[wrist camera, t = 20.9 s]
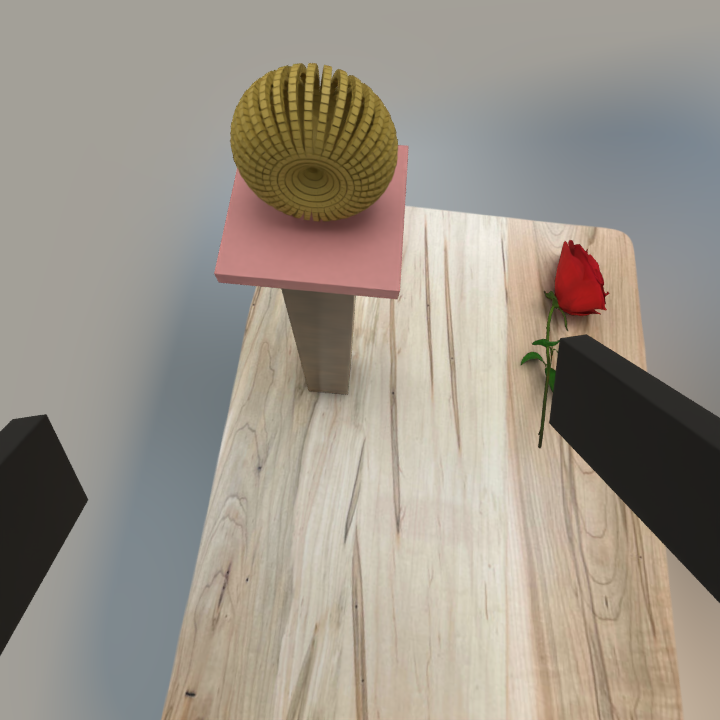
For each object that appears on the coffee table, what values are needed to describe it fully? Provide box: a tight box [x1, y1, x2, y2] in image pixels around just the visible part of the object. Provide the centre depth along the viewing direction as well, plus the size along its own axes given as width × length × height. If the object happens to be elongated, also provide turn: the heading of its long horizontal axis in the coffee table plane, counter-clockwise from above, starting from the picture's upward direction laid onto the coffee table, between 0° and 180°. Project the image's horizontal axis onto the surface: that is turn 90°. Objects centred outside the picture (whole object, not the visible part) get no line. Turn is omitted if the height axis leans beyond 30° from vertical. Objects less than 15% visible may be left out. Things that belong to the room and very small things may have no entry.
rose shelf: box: [214, 138, 408, 299], centre depth 26 cm, size 10×10×1 cm
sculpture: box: [230, 63, 398, 221], centre depth 21 cm, size 8×4×8 cm, turn 87°
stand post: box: [281, 288, 356, 395], centre depth 41 cm, size 5×5×32 cm
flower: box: [521, 240, 609, 448], centre depth 55 cm, size 9×9×30 cm
